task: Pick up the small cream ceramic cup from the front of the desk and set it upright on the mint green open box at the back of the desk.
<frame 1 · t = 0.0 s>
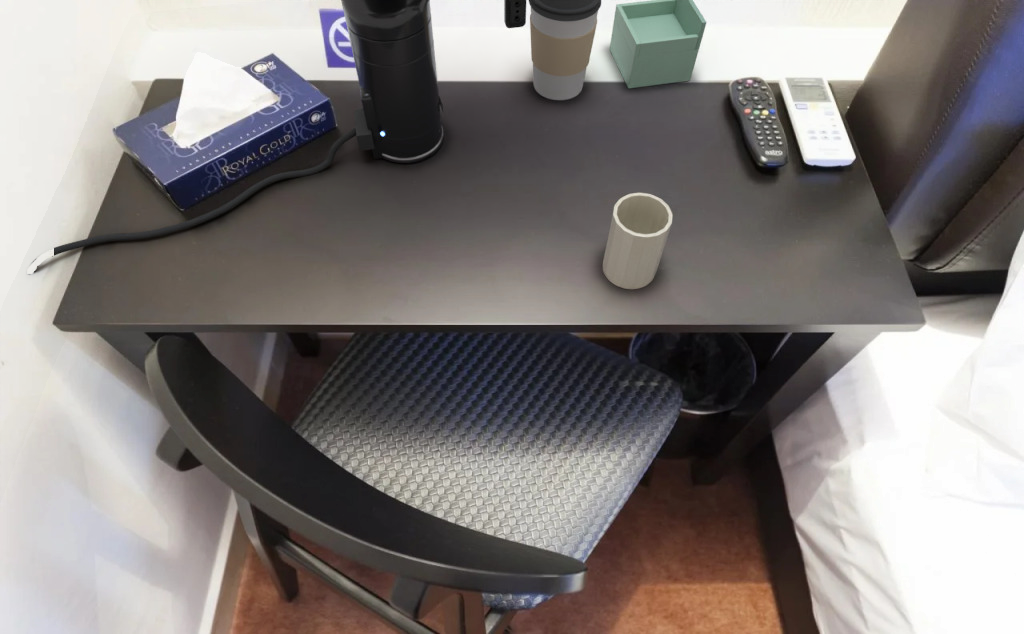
hand: (506, 3, 74), 17 cm above the table, tool pointing down, fingers open, 8 cm apart
cup: (628, 268, 75), on the table
mint green open box: (649, 64, 96), on the table
coffee cup: (557, 85, 93), on the table
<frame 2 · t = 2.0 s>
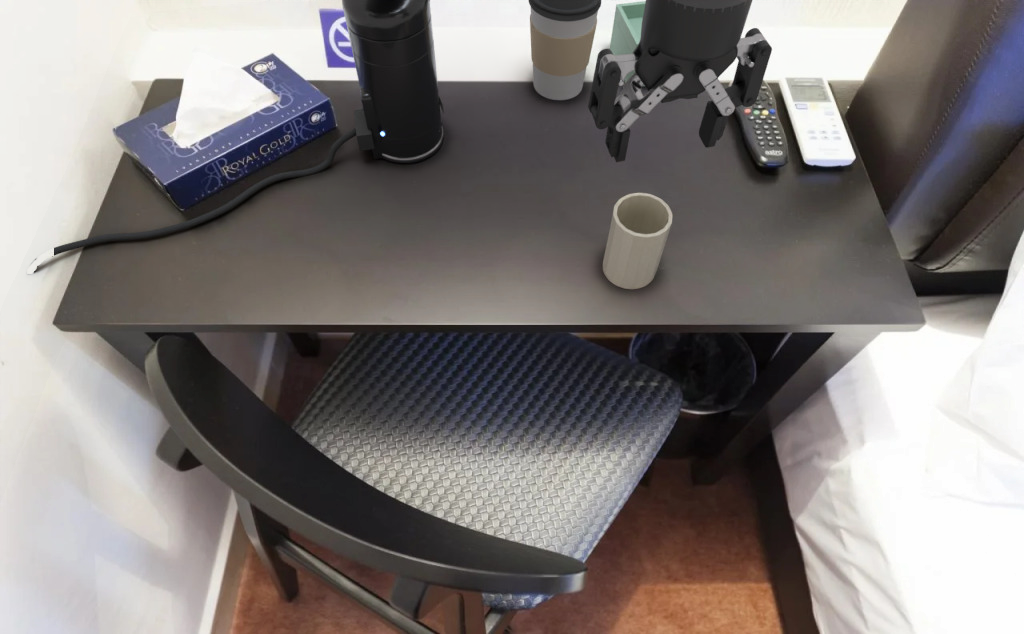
hand: (661, 148, 61), 18 cm above the table, tool pointing down, fingers open, 8 cm apart
nothing on the table moved.
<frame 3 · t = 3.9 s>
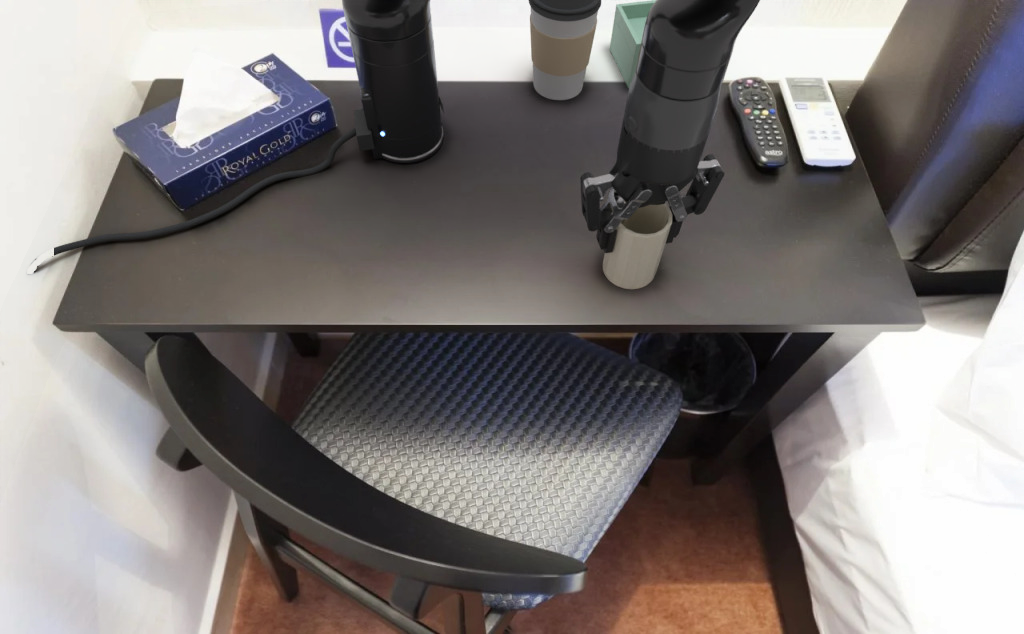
hand: (635, 241, 72), 5 cm above the table, tool pointing down, fingers closed on cup, 6 cm apart
cup: (628, 268, 75), on the table, touching gripper
everything else where it was.
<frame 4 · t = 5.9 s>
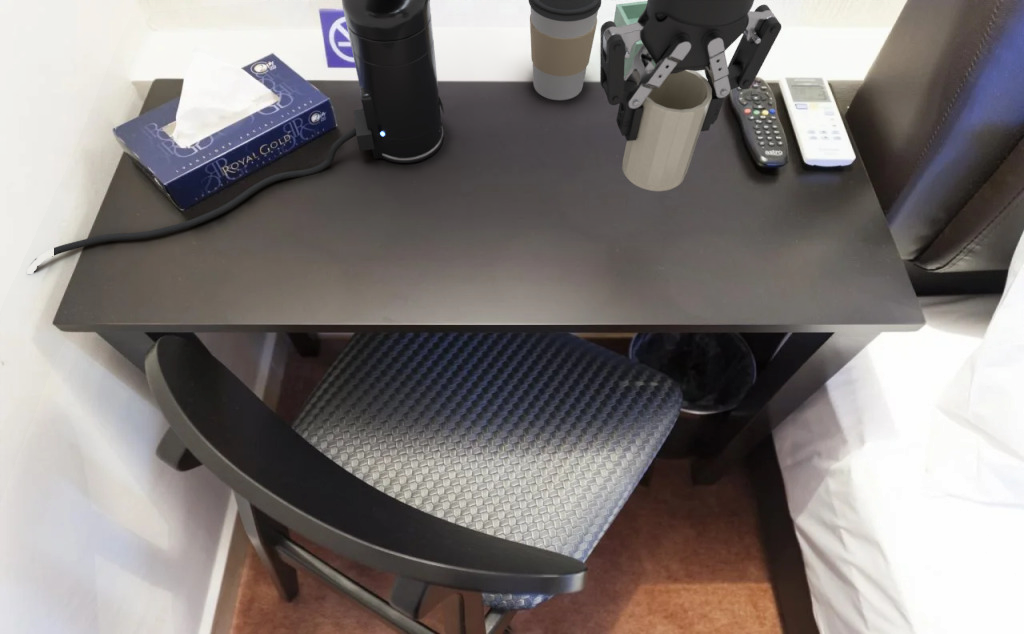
hand: (663, 129, 59), 20 cm above the table, tool pointing down, fingers closed on cup, 6 cm apart
cup: (653, 168, 62), point 15 cm above the table, touching gripper
everything else where it was.
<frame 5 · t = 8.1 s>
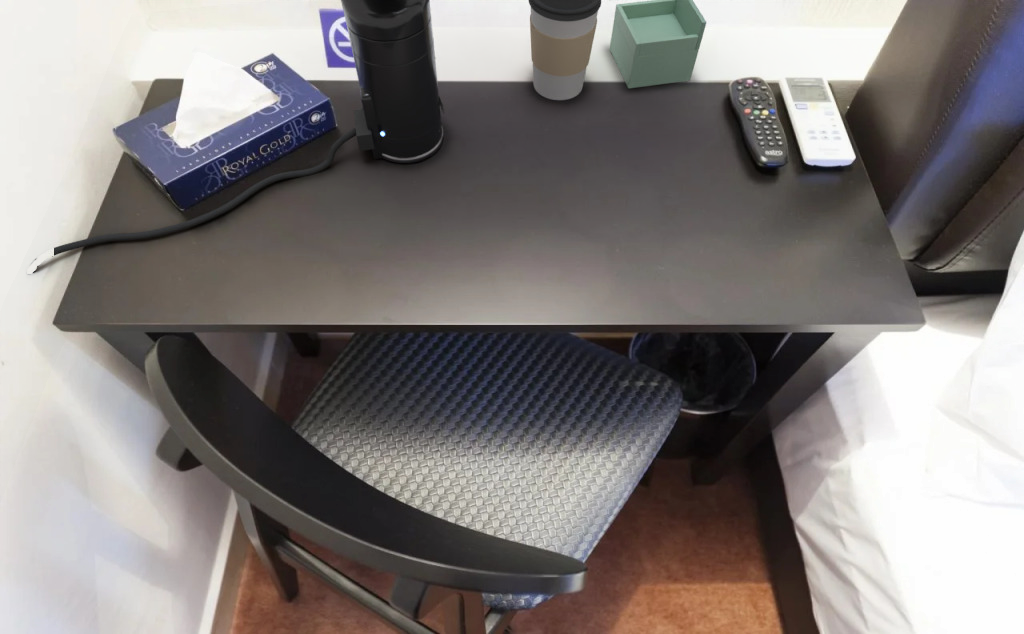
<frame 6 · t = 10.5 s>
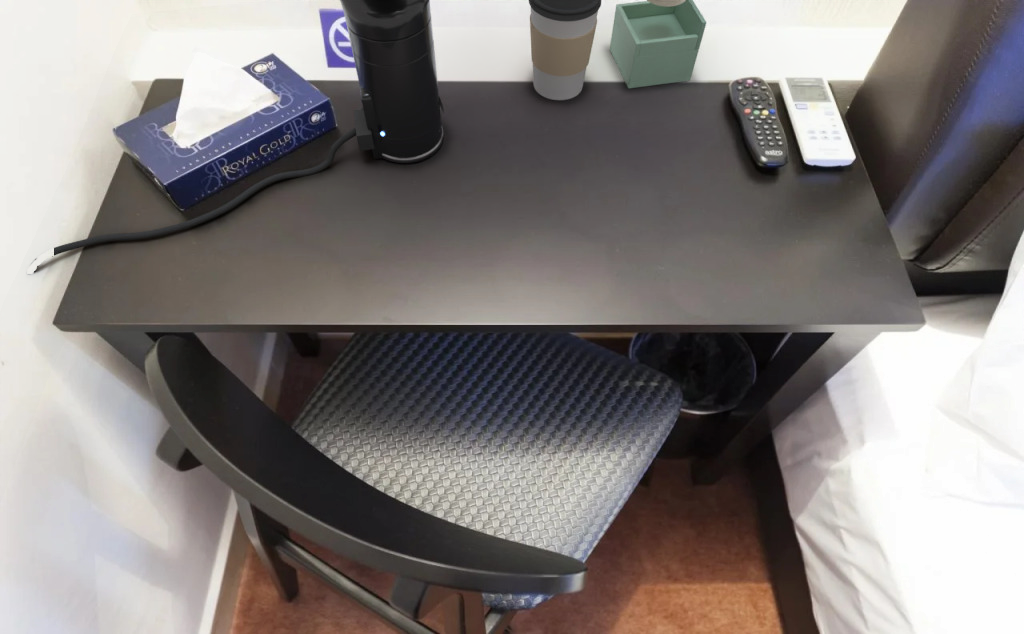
when the fingers open (10 cm above the table, at t = 12.5 s): cup stays where it is, resting on mint green open box.
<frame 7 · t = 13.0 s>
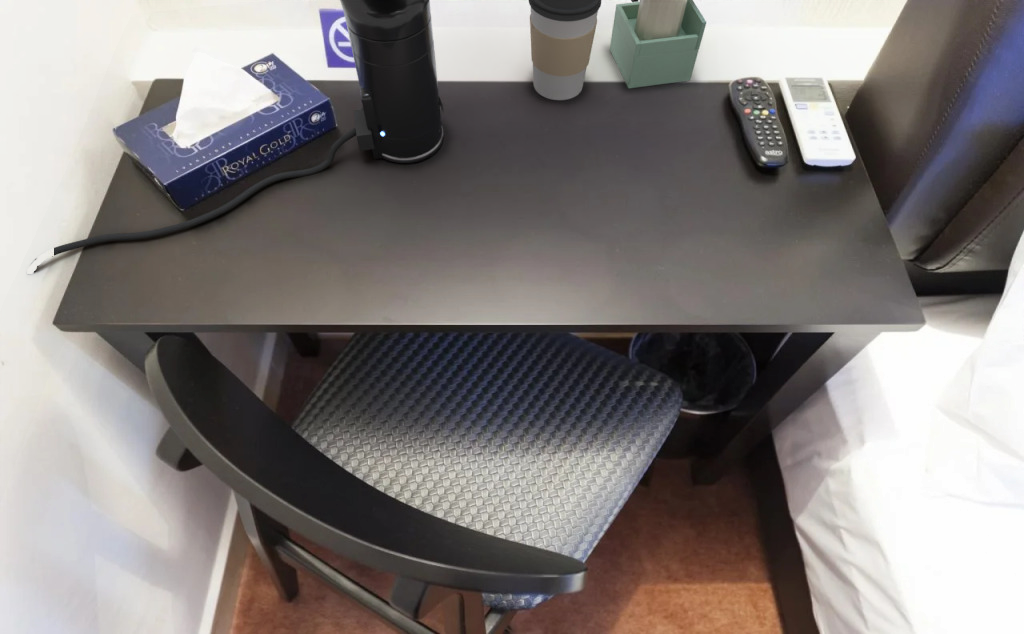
cup: (656, 33, 92), point 5 cm above the table, touching mint green open box
everything else where it was.
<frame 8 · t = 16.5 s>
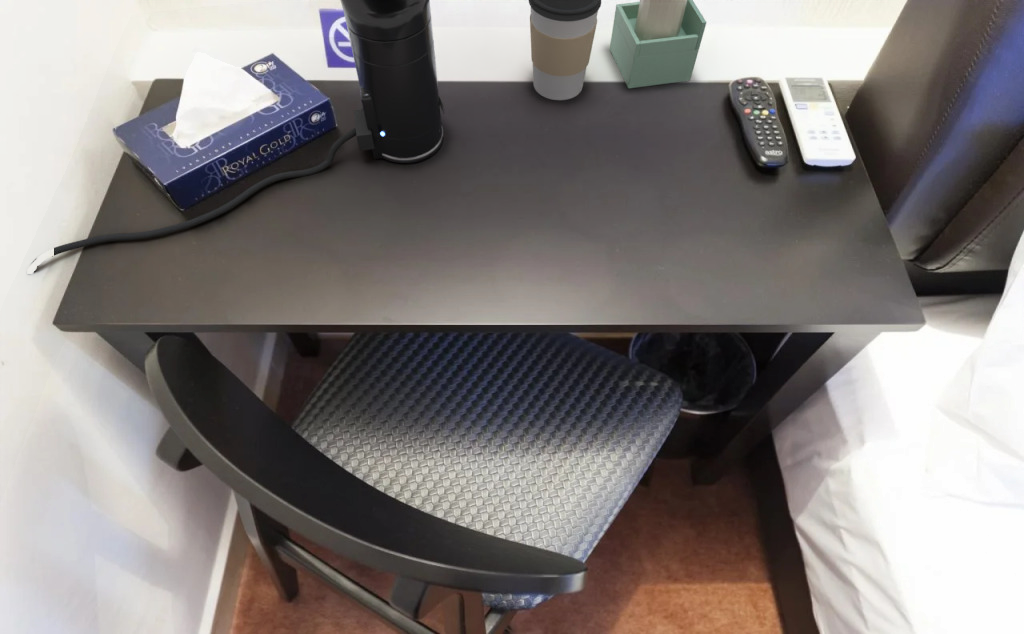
nothing on the table moved.
at the end: cup 0.0 cm off-centre on the mint green open box, point 5.0 cm above the mint green open box's base; cup tilted 0°; the gripper is holding nothing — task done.
